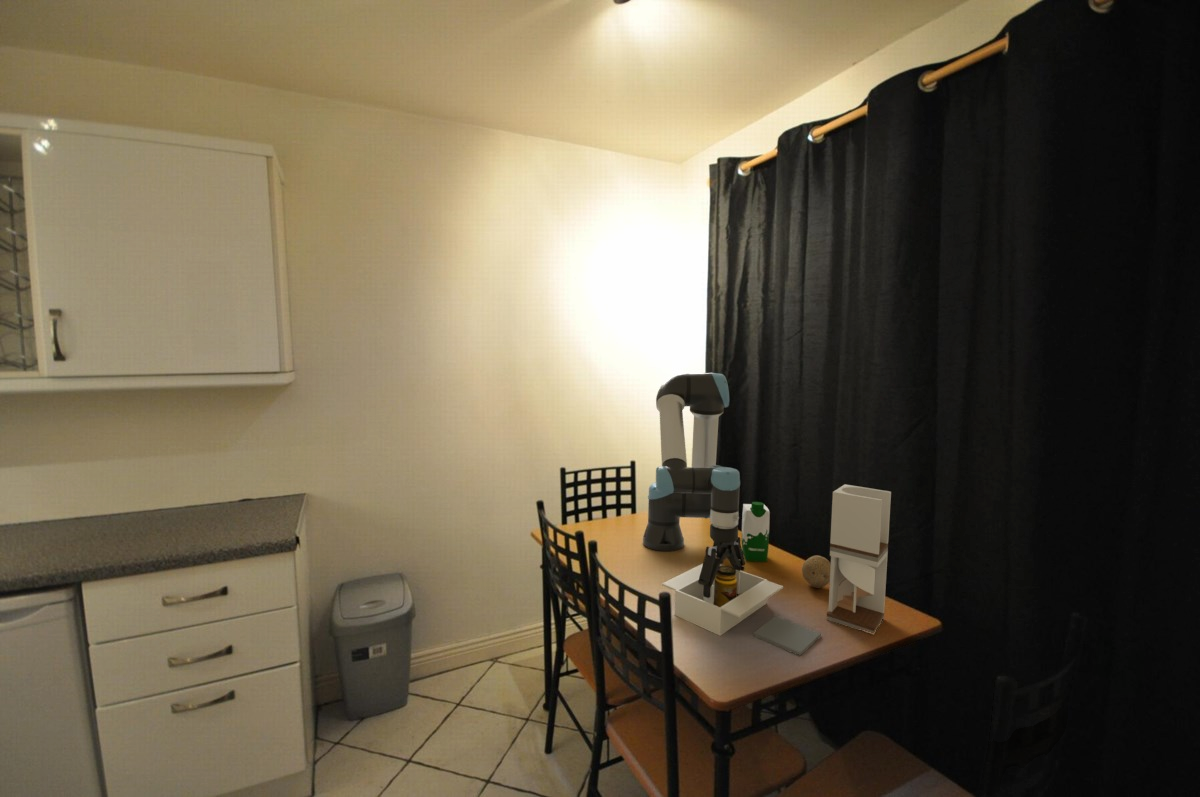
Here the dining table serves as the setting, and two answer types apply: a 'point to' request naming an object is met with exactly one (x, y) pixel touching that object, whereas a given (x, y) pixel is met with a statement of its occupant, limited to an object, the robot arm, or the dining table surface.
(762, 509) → the milk carton
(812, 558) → the natural sponge
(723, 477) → the robot arm
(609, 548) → the dining table surface
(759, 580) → the carton
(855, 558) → the white cereal dispenser
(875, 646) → the dining table surface
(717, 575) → the condiment
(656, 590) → the dining table surface
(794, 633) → the slate mat
